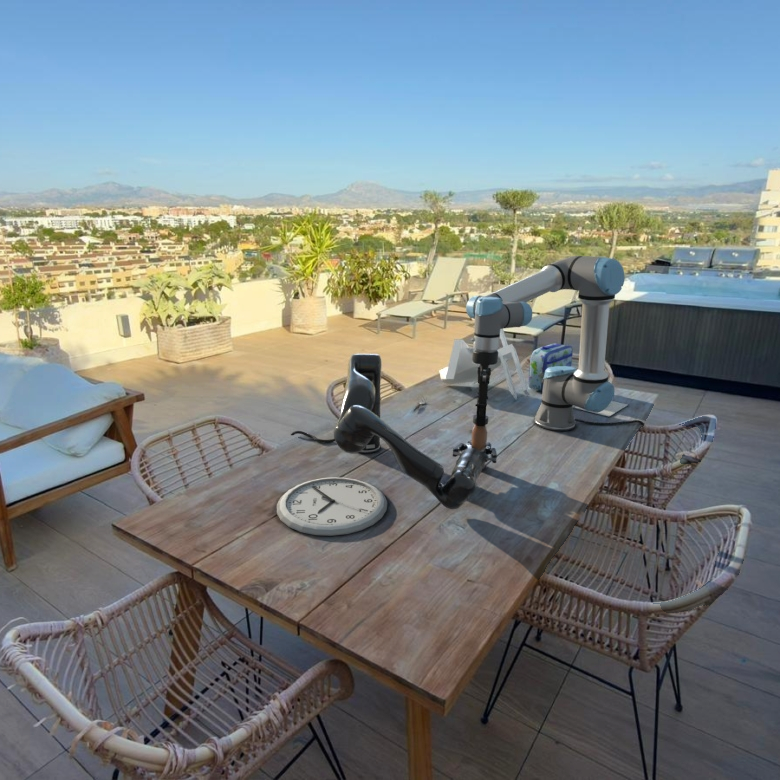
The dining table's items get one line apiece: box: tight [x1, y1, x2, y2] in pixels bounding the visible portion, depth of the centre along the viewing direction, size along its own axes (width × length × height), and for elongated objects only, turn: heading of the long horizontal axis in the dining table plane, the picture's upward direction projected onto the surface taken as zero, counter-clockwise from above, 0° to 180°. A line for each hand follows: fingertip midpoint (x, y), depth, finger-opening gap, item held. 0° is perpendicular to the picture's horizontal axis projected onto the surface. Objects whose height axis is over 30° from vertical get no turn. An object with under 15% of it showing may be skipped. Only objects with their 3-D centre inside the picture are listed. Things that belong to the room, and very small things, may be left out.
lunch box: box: [528, 343, 574, 392], centre depth 249 cm, size 26×11×21 cm, turn 134°
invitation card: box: [573, 400, 629, 418], centre depth 226 cm, size 21×1×15 cm
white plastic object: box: [438, 328, 531, 400], centre depth 245 cm, size 37×45×31 cm
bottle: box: [470, 424, 488, 470], centre depth 165 cm, size 5×5×16 cm
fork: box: [413, 396, 428, 412], centre depth 222 cm, size 3×16×2 cm, turn 160°
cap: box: [472, 414, 489, 426], centre depth 163 cm, size 5×5×2 cm
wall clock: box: [276, 476, 388, 537], centre depth 142 cm, size 30×2×30 cm
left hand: (480, 443), depth 168 cm, fingers closed on bottle, 4 cm apart
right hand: (480, 422), depth 163 cm, fingers open, 5 cm apart
